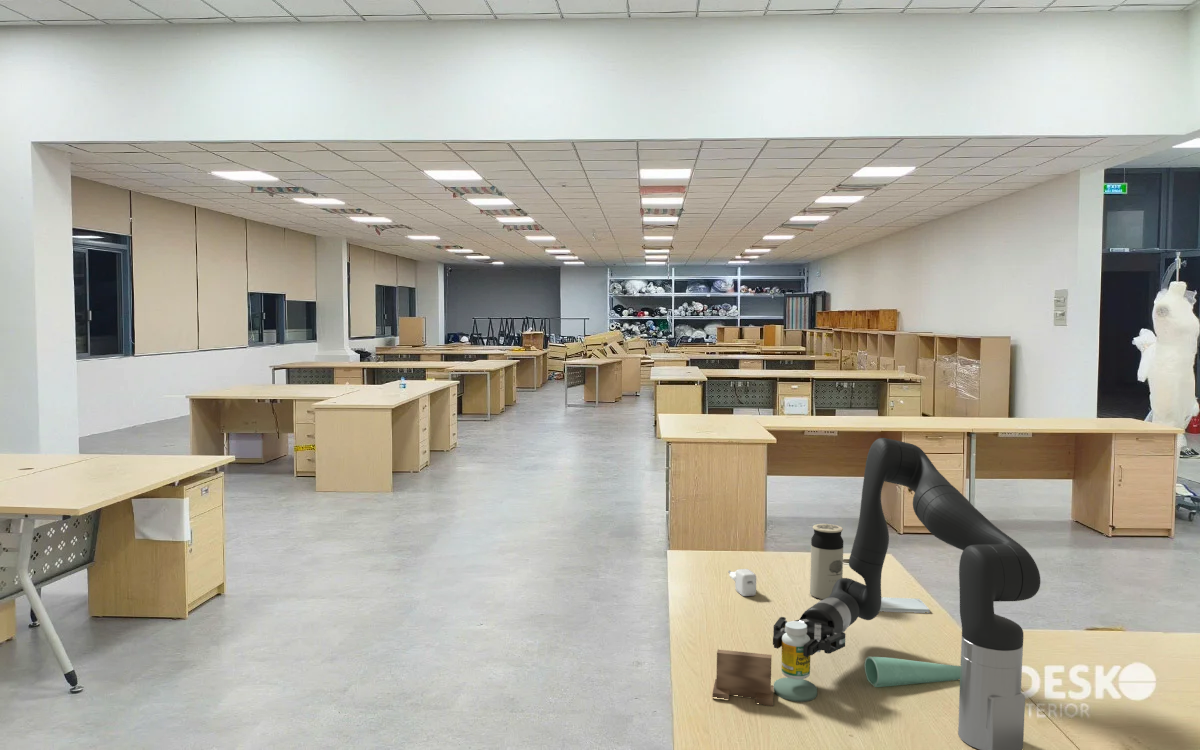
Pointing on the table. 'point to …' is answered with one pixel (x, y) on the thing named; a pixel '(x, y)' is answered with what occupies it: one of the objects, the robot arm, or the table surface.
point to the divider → (744, 676)
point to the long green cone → (907, 671)
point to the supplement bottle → (795, 651)
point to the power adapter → (744, 581)
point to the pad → (795, 689)
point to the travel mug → (825, 559)
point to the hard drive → (903, 605)
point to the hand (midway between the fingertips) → (790, 647)
